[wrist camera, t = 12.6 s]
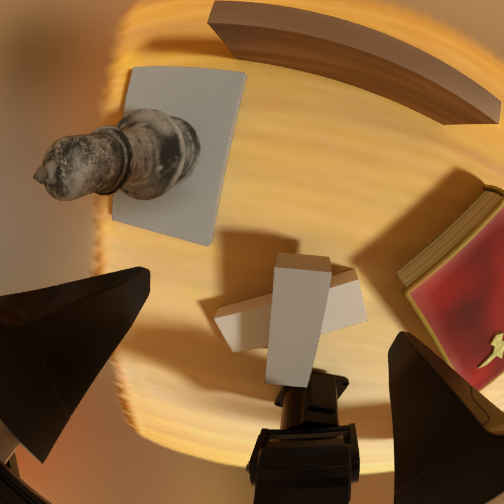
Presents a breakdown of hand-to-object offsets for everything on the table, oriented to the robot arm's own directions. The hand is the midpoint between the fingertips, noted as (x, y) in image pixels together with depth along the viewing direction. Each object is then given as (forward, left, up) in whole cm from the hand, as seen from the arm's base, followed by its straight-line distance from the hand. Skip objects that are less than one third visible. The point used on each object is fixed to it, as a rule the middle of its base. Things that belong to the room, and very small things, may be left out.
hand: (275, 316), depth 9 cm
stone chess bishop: (+3, +10, -11) cm, 15 cm away
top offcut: (-7, -3, -10) cm, 13 cm away
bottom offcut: (-8, -2, -13) cm, 15 cm away
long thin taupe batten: (+12, -2, -12) cm, 17 cm away
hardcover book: (-2, -21, -13) cm, 25 cm away
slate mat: (+3, +10, -12) cm, 16 cm away
